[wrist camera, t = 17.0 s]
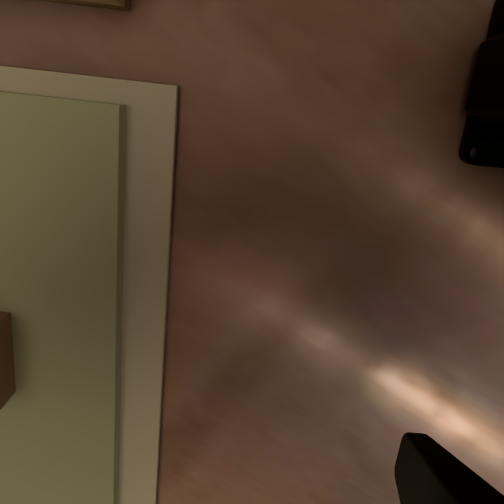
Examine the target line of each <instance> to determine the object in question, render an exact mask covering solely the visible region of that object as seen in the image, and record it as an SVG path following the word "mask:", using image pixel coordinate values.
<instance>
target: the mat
mask: <svg viewBox="0 0 504 504" xmlns="http://www.w3.org/2000/svg"><path fill="white" fill-rule="evenodd" d="M0 91H4V92H13V93H22V94H31V95H40V96H49V97H58V98H67V99H76V100H85V101H94V102H103V103H112V104H121V105H126V138H125V190H124V243H123V295H122V348H121V400H120V453H119V504H157V490H158V471H159V452H160V434H161V415H162V396H163V377H164V358H165V339H166V320H167V301H168V282H169V263H170V244H171V225H172V206H173V188H174V169H175V150H176V131H177V112H178V93H179V86H174V85H165V84H157V83H148V82H139V81H130V80H121V79H113V78H104V77H95V76H86V75H77V74H69V73H60V72H51V71H42V70H33V69H25V68H16V67H7V66H0Z"/></svg>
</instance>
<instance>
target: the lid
mask: <svg viewBox="0 0 504 504" xmlns="http://www.w3.org/2000/svg"><path fill="white" fill-rule="evenodd" d="M125 138H126V105H121V104H112V103H103V102H94V101H85V100H76V99H67V98H58V97H49V96H40V95H31V94H22V93H13V92H4V91H0V504H119V453H120V400H121V348H122V295H123V243H124V190H125Z"/></svg>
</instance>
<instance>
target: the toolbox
mask: <svg viewBox="0 0 504 504" xmlns="http://www.w3.org/2000/svg"><path fill="white" fill-rule="evenodd" d="M44 1H52V2H60V3H69V4H77V5H85V6H94V7H102V8H110V9H118V10H127V11H130V0H44Z"/></svg>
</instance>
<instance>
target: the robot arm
mask: <svg viewBox="0 0 504 504" xmlns="http://www.w3.org/2000/svg"><path fill="white" fill-rule="evenodd" d="M465 110H466V112H467V114H468V117H467V122H466V126H465V130H464V134H463V138H462V142H461V146H460V150H459V156H460V158H461V160H462V161H463V162H465V163H468V164H472V165H480V166H489V167H498V168H504V0H496V3H495V7H494V11H493V15H492V20H491V24H490V28H489V32H488V36H487V39H486V40H485V41H484V42H483V43H481V45H480V48H479V52H478V56H477V61H476V65H475V69H474V73H473V77H472V81H471V85H470V90H469V94H468V98H467V102H466V106H465ZM474 146H476V148H477V154H476V155H475V156H474V157H471V156H470V150H471V148H473V147H474ZM395 481H396V485H397V489H398V494H399V498H400V503H401V504H504V495H502V494H501V493H500V492H499V491H497V490H496V489H495V488H494V487H492V486H491V485H490V484H489V483H487V482H486V481H485V480H483V479H482V478H481V477H480V476H478V475H477V474H476V473H475V472H473V471H472V470H471V469H470V468H468V467H467V466H466V465H465V464H463V463H462V462H461V461H460V460H458V459H457V458H456V457H455V456H453V455H452V454H451V453H450V452H448V451H447V450H446V449H445V448H443V447H442V446H441V445H440V444H438V443H437V442H436V441H435V440H433V439H432V438H431V437H429V436H428V435H426V434H422V433H410V432H408V433H405V434H404V435H403V437H402V440H401V444H400V448H399V452H398V456H397V460H396V463H395Z"/></svg>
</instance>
